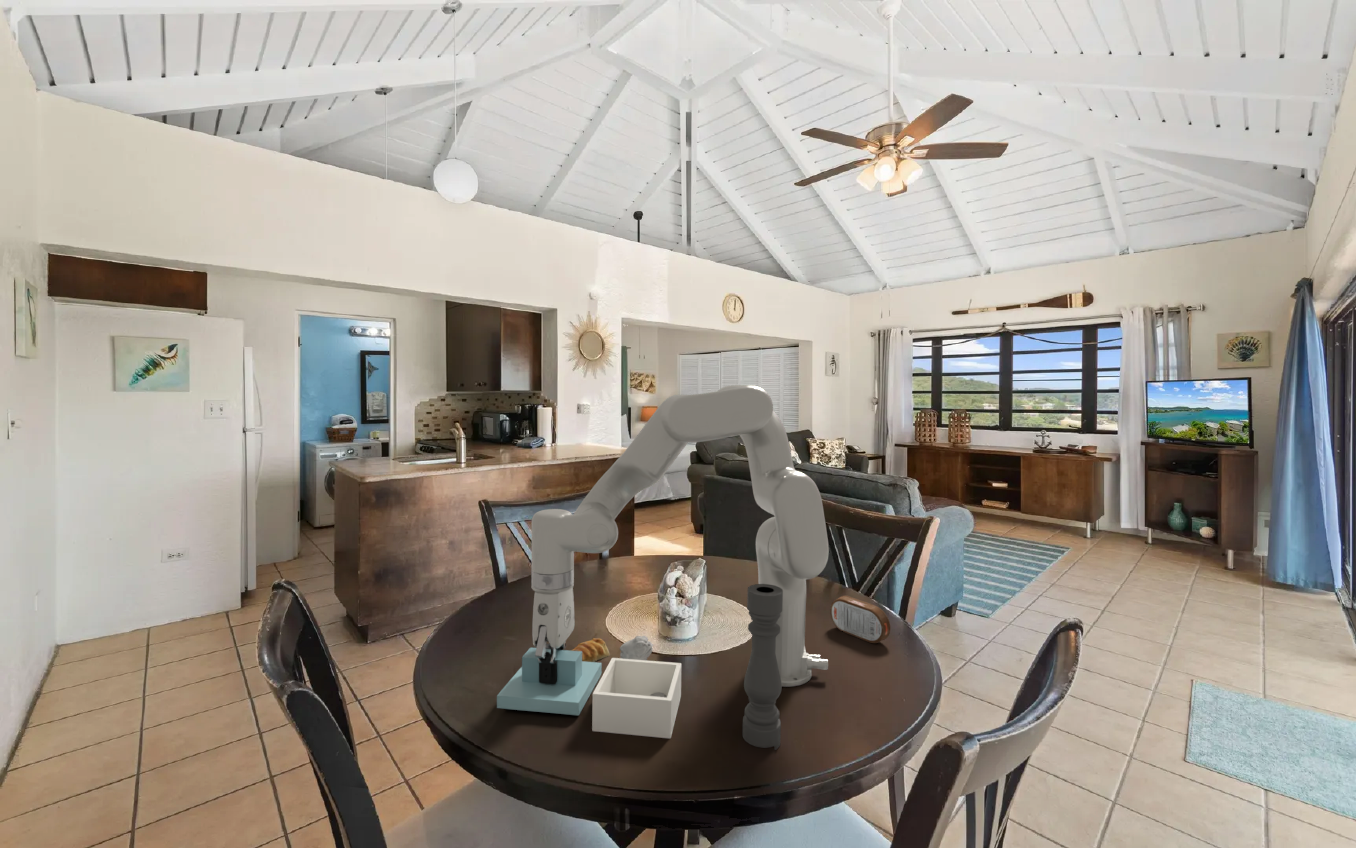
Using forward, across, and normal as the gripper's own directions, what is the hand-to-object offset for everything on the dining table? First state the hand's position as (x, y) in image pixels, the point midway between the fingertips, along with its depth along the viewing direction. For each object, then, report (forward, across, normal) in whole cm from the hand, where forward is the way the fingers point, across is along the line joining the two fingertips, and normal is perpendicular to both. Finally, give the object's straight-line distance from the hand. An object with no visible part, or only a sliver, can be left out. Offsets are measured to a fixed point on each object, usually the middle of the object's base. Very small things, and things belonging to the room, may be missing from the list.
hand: (552, 675), depth 105 cm
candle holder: (+4, -7, -38) cm, 39 cm away
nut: (+3, -2, -20) cm, 20 cm away
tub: (+4, -4, -17) cm, 18 cm away
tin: (+5, +38, -61) cm, 72 cm away
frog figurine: (+4, +13, -13) cm, 19 cm away
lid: (+3, 0, 0) cm, 3 cm away
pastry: (+5, +16, -2) cm, 17 cm away
